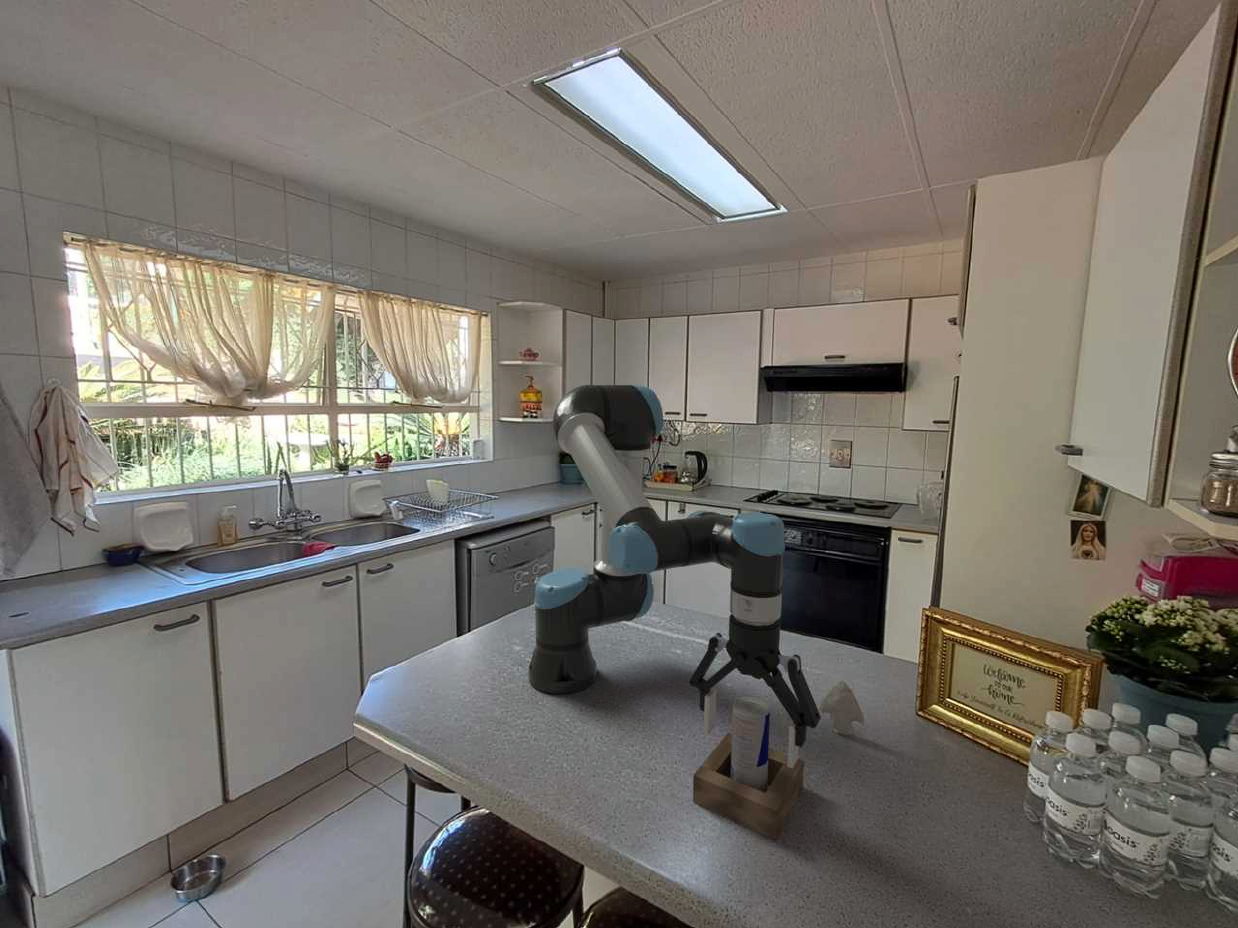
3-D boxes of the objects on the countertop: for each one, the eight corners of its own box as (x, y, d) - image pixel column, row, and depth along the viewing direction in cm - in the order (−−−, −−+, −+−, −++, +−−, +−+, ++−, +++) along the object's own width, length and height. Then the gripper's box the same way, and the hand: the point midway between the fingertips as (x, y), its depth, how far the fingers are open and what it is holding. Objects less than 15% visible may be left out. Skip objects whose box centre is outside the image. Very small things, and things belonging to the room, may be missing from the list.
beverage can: (768, 810, 83) (771, 717, 81) (730, 804, 84) (732, 713, 82) (765, 784, 88) (768, 697, 87) (730, 779, 90) (732, 693, 88)
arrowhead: (865, 736, 101) (868, 685, 100) (861, 744, 99) (864, 691, 98) (820, 721, 106) (823, 672, 104) (816, 728, 103) (819, 678, 102)
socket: (692, 801, 85) (693, 774, 84) (727, 756, 95) (728, 732, 95) (775, 840, 77) (776, 811, 77) (802, 786, 88) (804, 760, 87)
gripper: (670, 605, 87) (667, 728, 90) (834, 648, 73) (825, 793, 75) (692, 591, 93) (689, 707, 96) (847, 628, 79) (838, 763, 82)
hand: (749, 745), depth 86 cm, fingers open, 13 cm apart
